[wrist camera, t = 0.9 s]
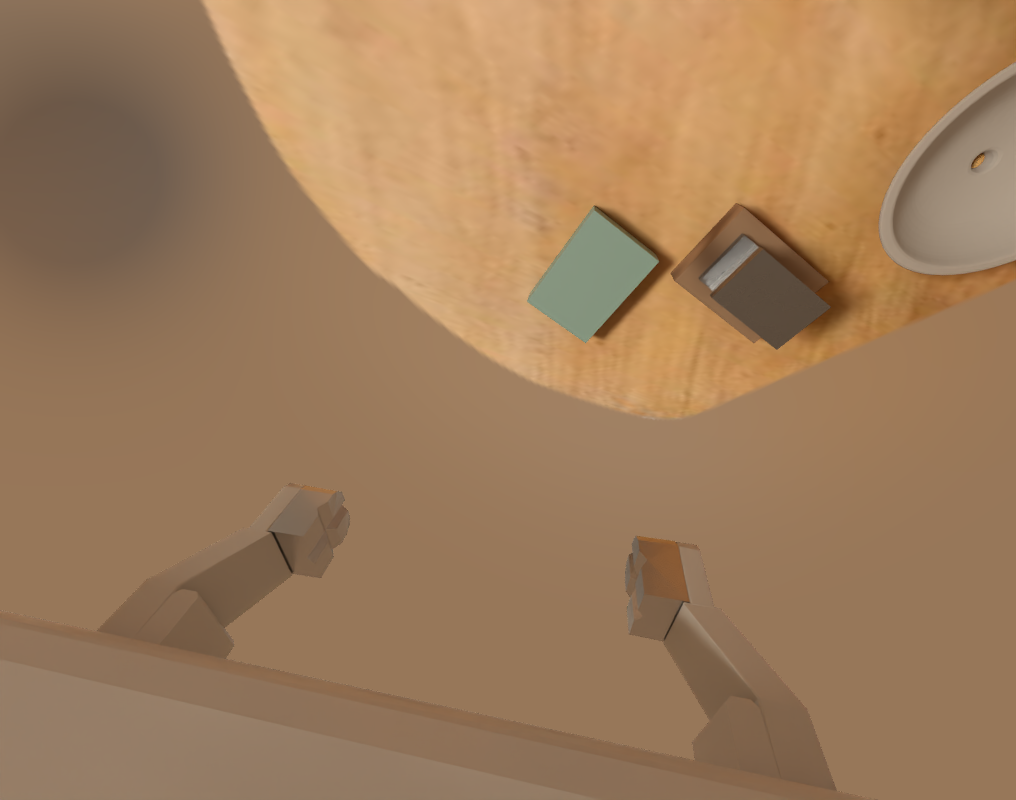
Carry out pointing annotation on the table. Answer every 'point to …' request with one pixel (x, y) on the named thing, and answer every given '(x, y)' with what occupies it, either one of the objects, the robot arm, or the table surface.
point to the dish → (958, 188)
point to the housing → (761, 292)
